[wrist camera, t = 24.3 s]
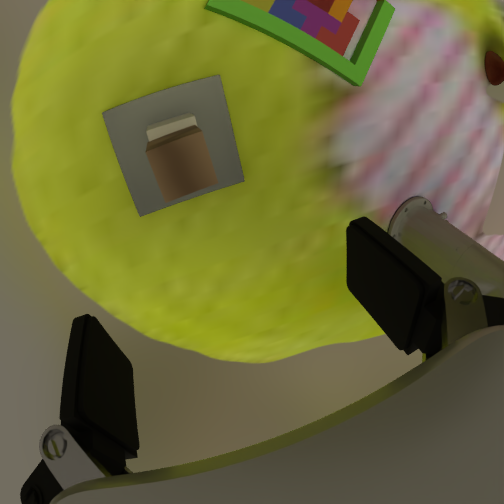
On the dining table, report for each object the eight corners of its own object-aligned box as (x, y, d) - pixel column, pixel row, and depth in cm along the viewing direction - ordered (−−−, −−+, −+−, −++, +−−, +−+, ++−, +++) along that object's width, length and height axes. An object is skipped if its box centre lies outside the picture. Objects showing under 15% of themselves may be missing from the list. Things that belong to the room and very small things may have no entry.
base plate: (217, 75, 30) (219, 74, 29) (242, 178, 38) (244, 181, 37) (103, 112, 28) (102, 112, 27) (140, 213, 36) (140, 216, 35)
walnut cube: (195, 124, 27) (202, 130, 23) (209, 168, 30) (218, 183, 26) (147, 142, 26) (145, 152, 22) (164, 185, 29) (165, 203, 25)
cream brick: (189, 112, 30) (194, 115, 26) (204, 166, 34) (211, 178, 30) (147, 125, 30) (146, 131, 26) (164, 179, 34) (165, 193, 30)
